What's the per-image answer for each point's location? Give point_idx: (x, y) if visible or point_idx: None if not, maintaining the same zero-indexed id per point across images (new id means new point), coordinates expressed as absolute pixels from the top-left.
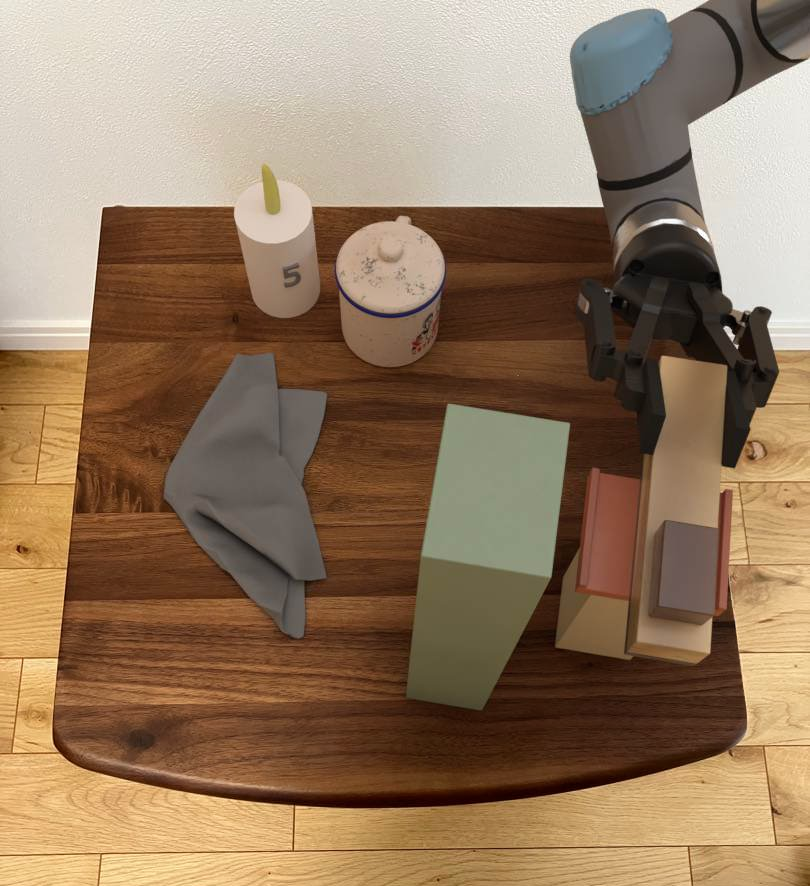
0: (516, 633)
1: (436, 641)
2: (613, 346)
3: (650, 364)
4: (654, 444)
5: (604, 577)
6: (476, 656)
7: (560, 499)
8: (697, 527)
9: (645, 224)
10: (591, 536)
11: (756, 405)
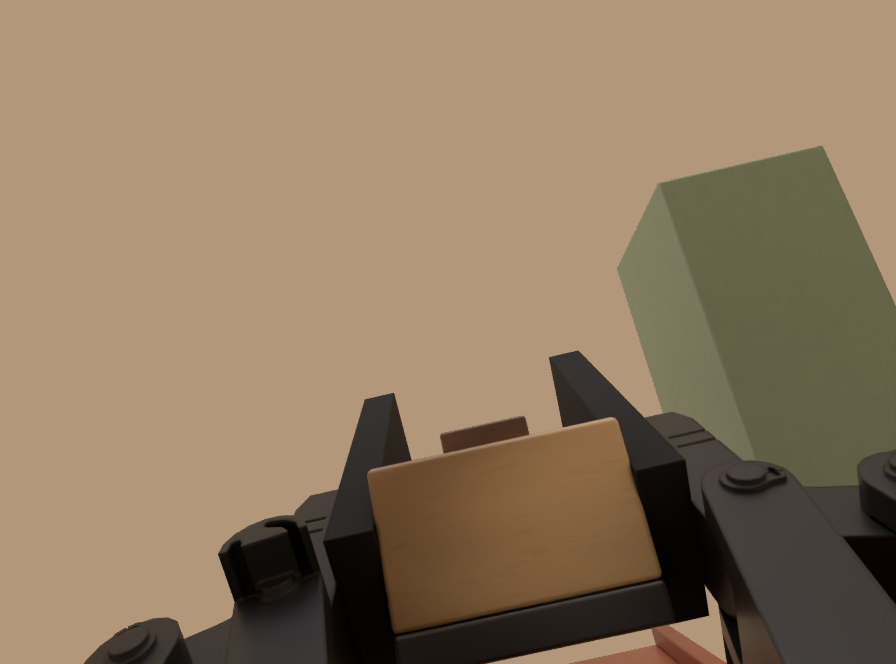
0: None
1: None
2: (867, 471)
3: (651, 441)
4: None
5: (629, 657)
6: None
7: (634, 233)
8: (473, 426)
9: None
10: (679, 644)
11: (295, 513)
